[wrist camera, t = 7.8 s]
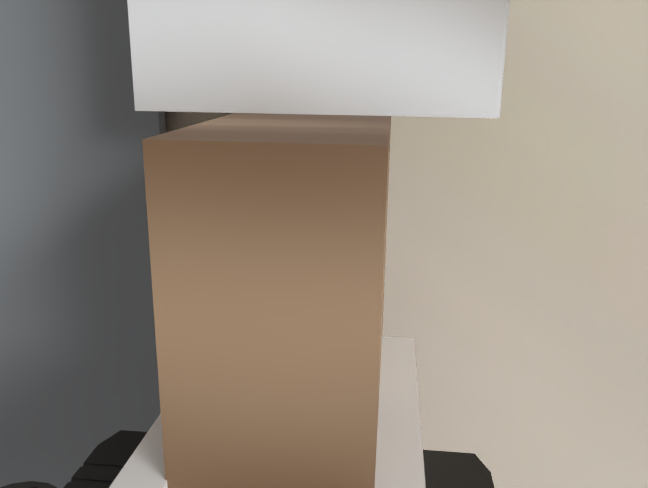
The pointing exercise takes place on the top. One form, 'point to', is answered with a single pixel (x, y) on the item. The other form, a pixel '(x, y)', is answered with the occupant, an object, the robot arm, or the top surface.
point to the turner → (286, 216)
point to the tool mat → (71, 238)
